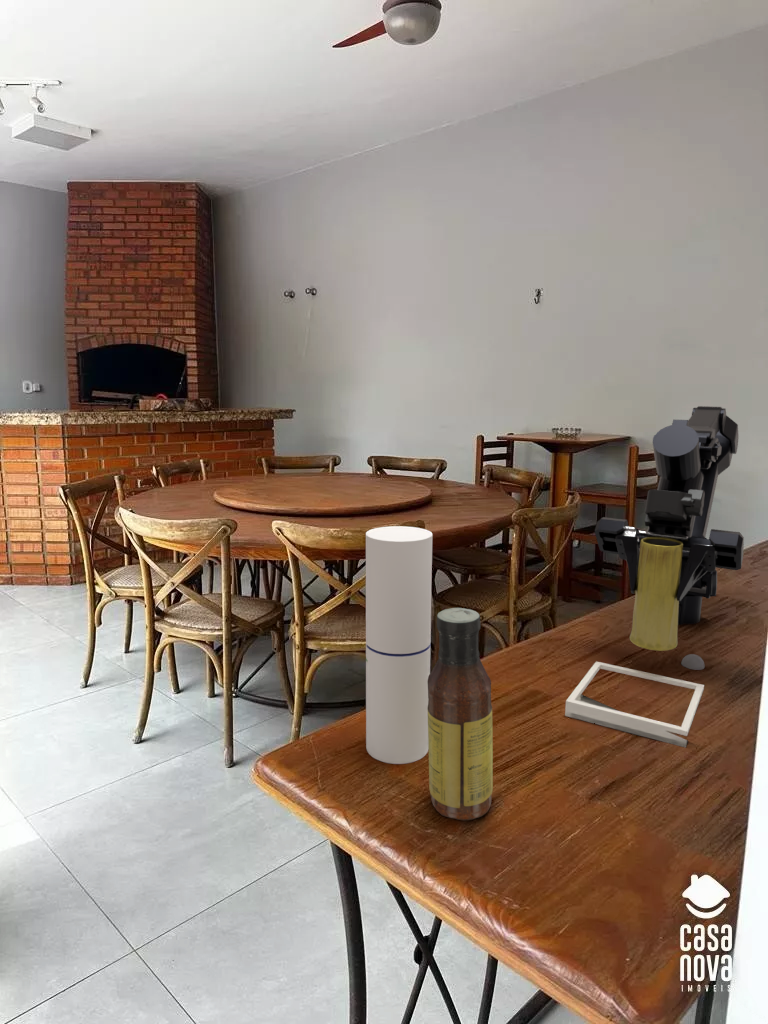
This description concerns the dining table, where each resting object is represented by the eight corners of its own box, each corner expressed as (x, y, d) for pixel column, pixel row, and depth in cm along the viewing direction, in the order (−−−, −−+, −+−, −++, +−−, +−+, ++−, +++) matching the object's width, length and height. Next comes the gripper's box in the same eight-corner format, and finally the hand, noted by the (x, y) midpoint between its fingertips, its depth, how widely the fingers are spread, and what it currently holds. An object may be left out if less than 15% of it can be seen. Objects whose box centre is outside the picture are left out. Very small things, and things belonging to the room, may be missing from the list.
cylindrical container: (384, 770, 74) (384, 544, 69) (355, 739, 80) (354, 530, 75) (440, 753, 77) (445, 537, 72) (409, 725, 83) (411, 523, 78)
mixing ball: (687, 668, 99) (689, 649, 99) (707, 675, 97) (709, 655, 96) (676, 674, 97) (678, 654, 97) (696, 681, 95) (698, 661, 95)
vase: (683, 652, 90) (693, 548, 88) (635, 650, 91) (643, 546, 88) (670, 635, 96) (678, 536, 93) (625, 633, 97) (632, 535, 94)
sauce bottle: (490, 787, 71) (497, 603, 67) (493, 826, 65) (501, 627, 61) (426, 783, 71) (429, 601, 67) (424, 822, 65) (427, 624, 61)
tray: (595, 674, 97) (596, 661, 97) (702, 699, 90) (704, 685, 90) (565, 715, 85) (565, 700, 85) (685, 747, 78) (687, 731, 78)
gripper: (602, 461, 97) (575, 554, 90) (750, 471, 87) (733, 576, 80) (612, 506, 105) (588, 595, 98) (749, 520, 96) (733, 619, 89)
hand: (655, 595), depth 91 cm, fingers closed on vase, 5 cm apart
